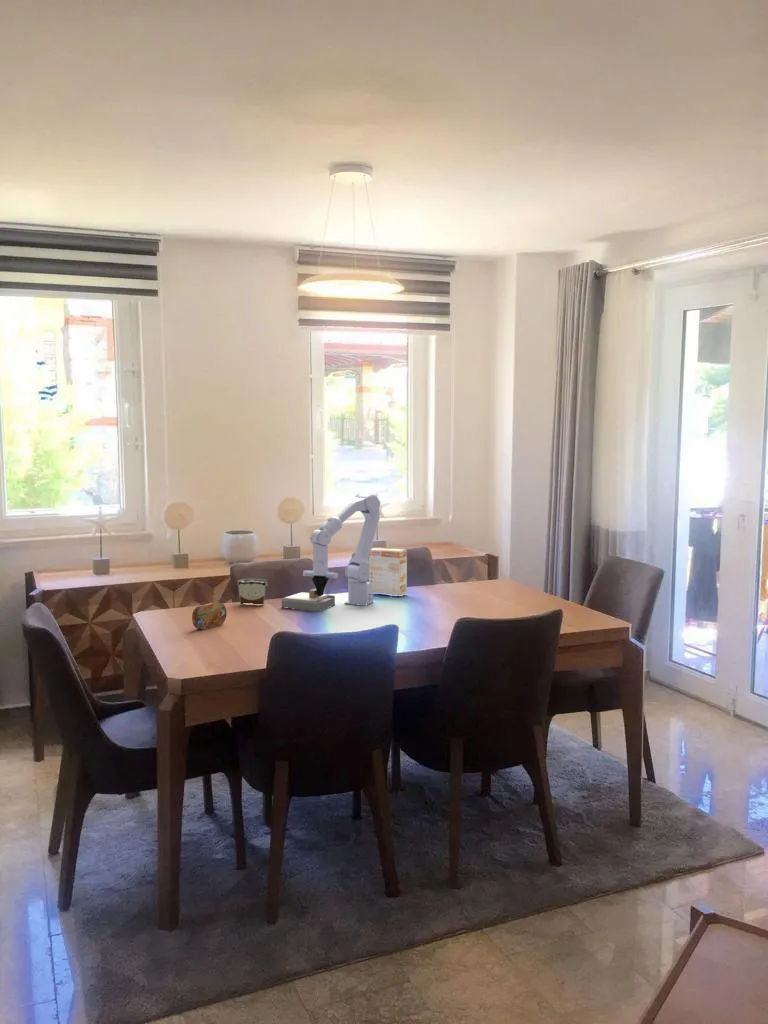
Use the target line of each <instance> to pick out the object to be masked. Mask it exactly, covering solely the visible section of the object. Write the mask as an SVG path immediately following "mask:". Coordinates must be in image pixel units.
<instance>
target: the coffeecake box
mask: <svg viewBox="0 0 768 1024" xmlns="http://www.w3.org/2000/svg"><path fill="white" fill-rule="evenodd" d="M368 561H369V563H370V576H369V578H368V582H370V583H372V586H373V592H379V593H386V594H392V595H402V594H405V593H407V592H408V591H407V589H408V587H407V585H408V582H407V581H408V575H407V574H408V566H407V565H408V550H407V549H403V548H392V547H391V548H390V547H389V548H388V547H371V550H370V554H369V557H368Z"/></svg>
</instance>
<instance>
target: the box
mask: <svg viewBox="0 0 768 1024" xmlns="http://www.w3.org/2000/svg"><path fill="white" fill-rule="evenodd" d="M327 595H328V597H327V598H324V599H321V600H318V601H307V600H297V599H286V598H285V597H284V598H283V597H281V608H282V607H288V608H294V609H293V610H295V609H302V610H301V611H305V610H309V611H308V612H315V611H318V612H321V611H323V609H324V610H325V608H326V609H329V608H331V607H330V606H332V607H333V605H334V606H335V605H336V602H335V599H336V598H335V597H336V596H335V595H332V594H331V595H330V594H327ZM328 607H329V608H328ZM320 610H321V611H320Z"/></svg>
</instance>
